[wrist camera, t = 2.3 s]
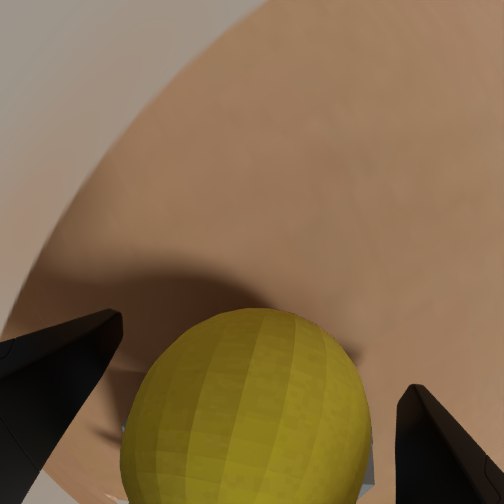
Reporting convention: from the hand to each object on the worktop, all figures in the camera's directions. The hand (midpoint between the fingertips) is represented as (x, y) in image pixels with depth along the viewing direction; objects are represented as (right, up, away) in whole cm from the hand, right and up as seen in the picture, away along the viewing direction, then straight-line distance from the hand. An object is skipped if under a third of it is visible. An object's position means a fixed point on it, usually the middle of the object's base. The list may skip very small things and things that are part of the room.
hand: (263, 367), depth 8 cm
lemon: (0, 0, +2) cm, 2 cm away
